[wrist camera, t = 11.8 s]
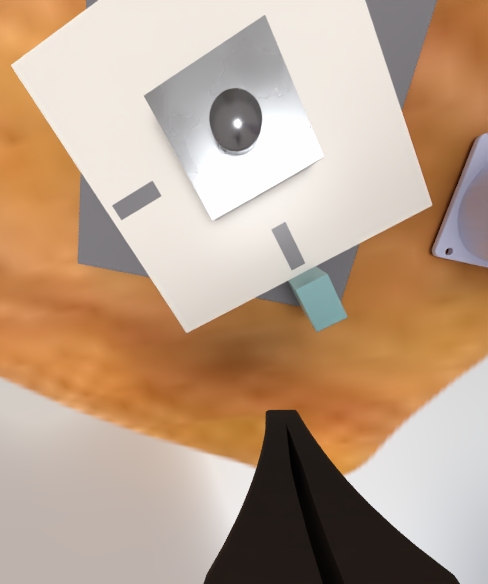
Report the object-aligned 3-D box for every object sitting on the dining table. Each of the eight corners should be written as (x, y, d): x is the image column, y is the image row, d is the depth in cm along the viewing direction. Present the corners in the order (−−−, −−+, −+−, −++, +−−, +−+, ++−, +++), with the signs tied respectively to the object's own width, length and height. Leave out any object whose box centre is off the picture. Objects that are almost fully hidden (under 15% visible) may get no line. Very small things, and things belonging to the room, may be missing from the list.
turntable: (307, -131, 13) (330, -258, 9) (435, 246, 18) (480, 252, 14) (25, 75, 15) (-38, 32, 12) (209, 359, 20) (203, 387, 16)
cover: (261, 50, 14) (267, -5, 10) (311, 166, 15) (330, 151, 12) (159, 116, 15) (135, 84, 11) (216, 220, 16) (210, 220, 13)
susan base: (428, 8, 15) (438, -3, 14) (333, 310, 20) (337, 313, 19) (98, -82, 14) (89, -100, 13) (84, 261, 19) (77, 263, 18)
